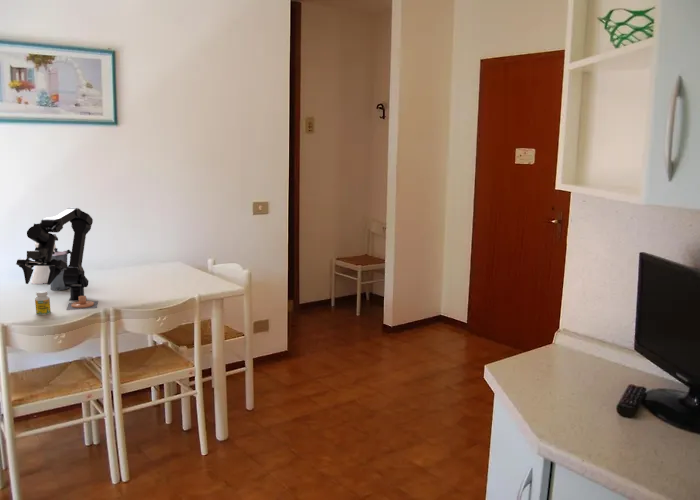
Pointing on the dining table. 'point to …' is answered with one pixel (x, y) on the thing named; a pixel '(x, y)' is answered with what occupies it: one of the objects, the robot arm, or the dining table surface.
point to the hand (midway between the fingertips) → (37, 284)
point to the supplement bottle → (42, 303)
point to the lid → (82, 303)
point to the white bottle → (41, 272)
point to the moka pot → (58, 281)
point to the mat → (83, 308)
